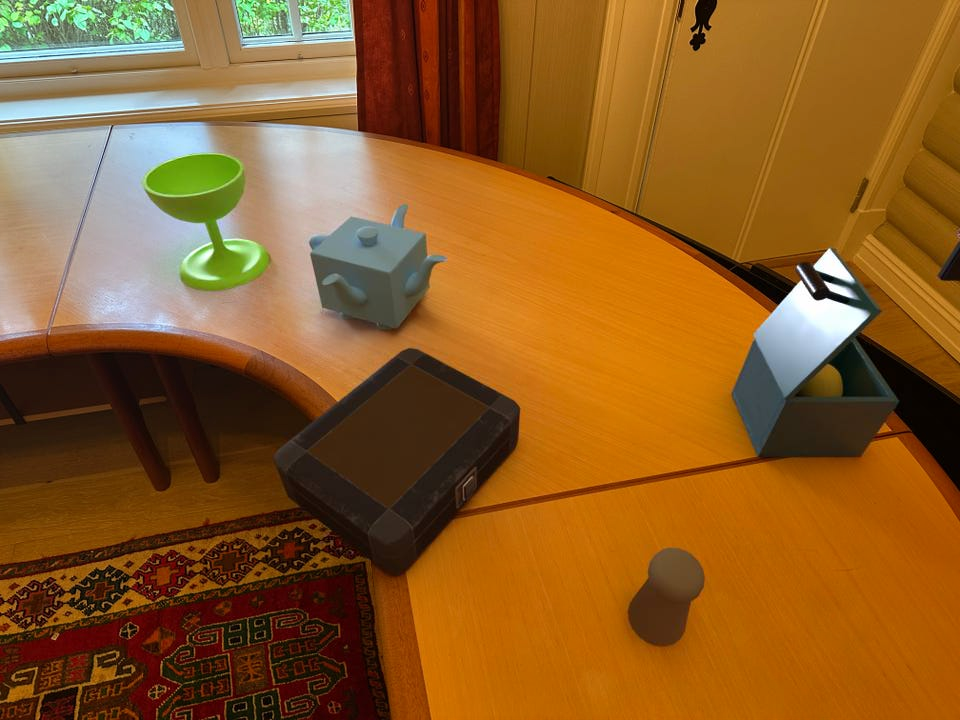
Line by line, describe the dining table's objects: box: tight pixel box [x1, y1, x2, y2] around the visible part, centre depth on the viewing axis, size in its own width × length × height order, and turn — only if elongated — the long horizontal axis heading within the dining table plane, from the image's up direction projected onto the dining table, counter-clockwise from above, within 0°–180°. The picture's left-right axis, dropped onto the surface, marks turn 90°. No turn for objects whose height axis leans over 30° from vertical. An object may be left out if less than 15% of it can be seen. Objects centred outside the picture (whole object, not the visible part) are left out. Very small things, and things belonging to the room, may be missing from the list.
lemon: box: [796, 364, 843, 397], centre depth 82 cm, size 6×6×8 cm
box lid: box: [752, 247, 883, 399], centre depth 71 cm, size 14×12×5 cm
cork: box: [627, 547, 706, 647], centre depth 61 cm, size 6×6×11 cm
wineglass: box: [141, 152, 271, 292], centre depth 106 cm, size 16×16×18 cm
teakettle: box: [308, 203, 448, 330], centre depth 98 cm, size 19×19×15 cm
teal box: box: [730, 337, 900, 458], centre depth 80 cm, size 14×12×11 cm
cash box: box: [273, 347, 521, 576], centre depth 76 cm, size 25×20×8 cm
